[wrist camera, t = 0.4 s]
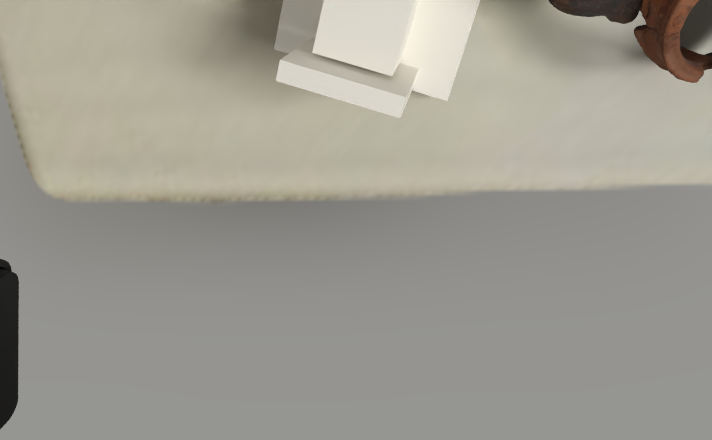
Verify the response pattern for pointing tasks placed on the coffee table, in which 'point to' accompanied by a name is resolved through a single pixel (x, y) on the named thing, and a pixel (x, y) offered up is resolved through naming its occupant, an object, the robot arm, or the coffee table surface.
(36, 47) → the coffee table surface
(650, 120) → the coffee table surface
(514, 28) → the coffee table surface
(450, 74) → the stand
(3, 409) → the robot arm
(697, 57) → the brown curved ringed piece
